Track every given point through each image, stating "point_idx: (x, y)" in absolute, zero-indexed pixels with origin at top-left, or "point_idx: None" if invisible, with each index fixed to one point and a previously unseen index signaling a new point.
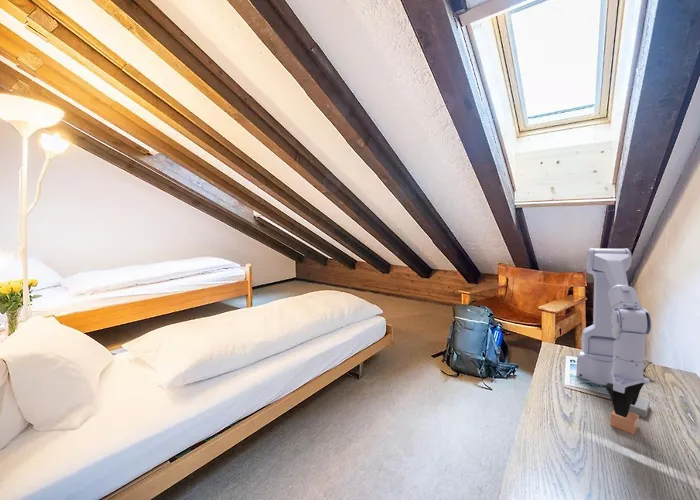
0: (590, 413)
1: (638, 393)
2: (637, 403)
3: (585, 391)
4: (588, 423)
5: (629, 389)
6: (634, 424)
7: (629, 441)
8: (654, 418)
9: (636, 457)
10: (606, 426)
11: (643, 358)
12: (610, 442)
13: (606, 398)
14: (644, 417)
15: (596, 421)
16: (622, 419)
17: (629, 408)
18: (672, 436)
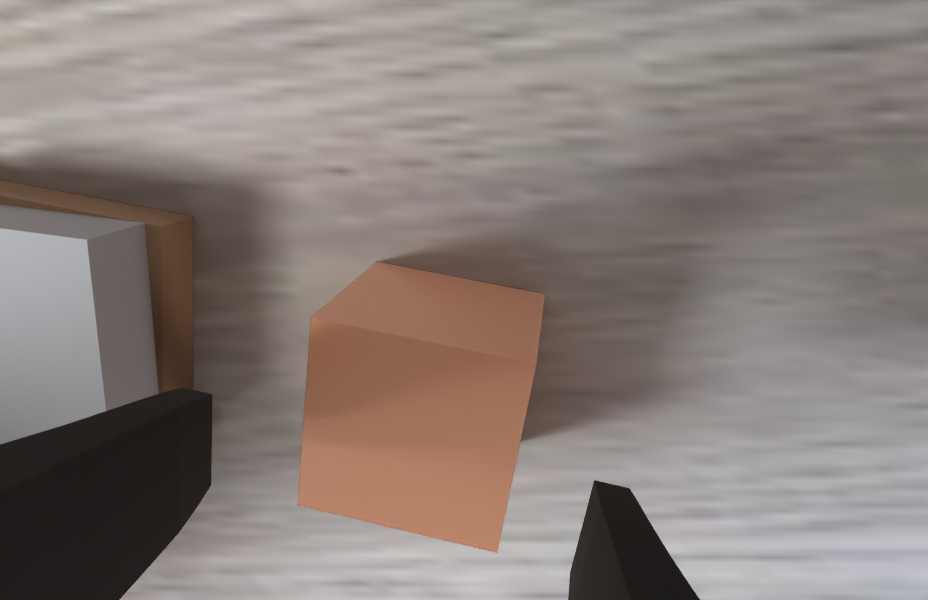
0: (356, 558)
1: (53, 470)
2: (4, 309)
3: None
4: (525, 571)
5: (44, 592)
6: (524, 349)
7: (598, 319)
8: (43, 147)
9: (839, 271)
10: None
11: None
12: (718, 441)
13: None
14: (148, 230)
15: None
16: (515, 452)
17: (629, 561)
18: (243, 11)
